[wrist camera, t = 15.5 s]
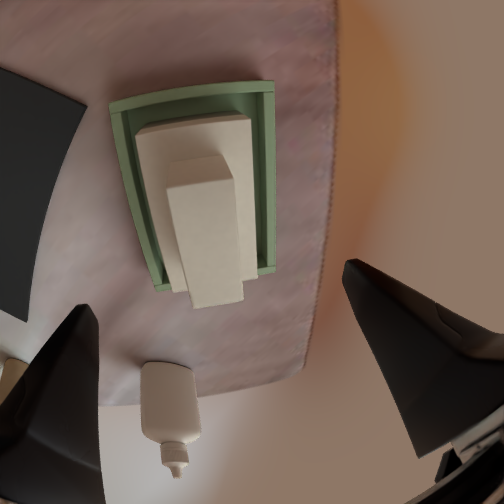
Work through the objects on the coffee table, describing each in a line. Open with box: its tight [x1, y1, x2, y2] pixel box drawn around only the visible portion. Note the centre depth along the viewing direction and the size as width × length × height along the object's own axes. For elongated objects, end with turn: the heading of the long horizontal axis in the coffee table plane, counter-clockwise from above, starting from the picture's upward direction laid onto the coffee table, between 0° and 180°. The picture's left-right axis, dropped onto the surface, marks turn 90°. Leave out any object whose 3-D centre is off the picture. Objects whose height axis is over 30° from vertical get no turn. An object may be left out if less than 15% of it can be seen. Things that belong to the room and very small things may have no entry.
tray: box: [108, 80, 276, 292], centre depth 16 cm, size 12×8×2 cm
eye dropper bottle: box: [140, 362, 201, 479], centre depth 22 cm, size 4×6×12 cm
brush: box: [135, 110, 258, 309], centre depth 13 cm, size 9×5×6 cm, turn 2°
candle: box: [0, 359, 29, 405], centre depth 19 cm, size 6×6×10 cm
